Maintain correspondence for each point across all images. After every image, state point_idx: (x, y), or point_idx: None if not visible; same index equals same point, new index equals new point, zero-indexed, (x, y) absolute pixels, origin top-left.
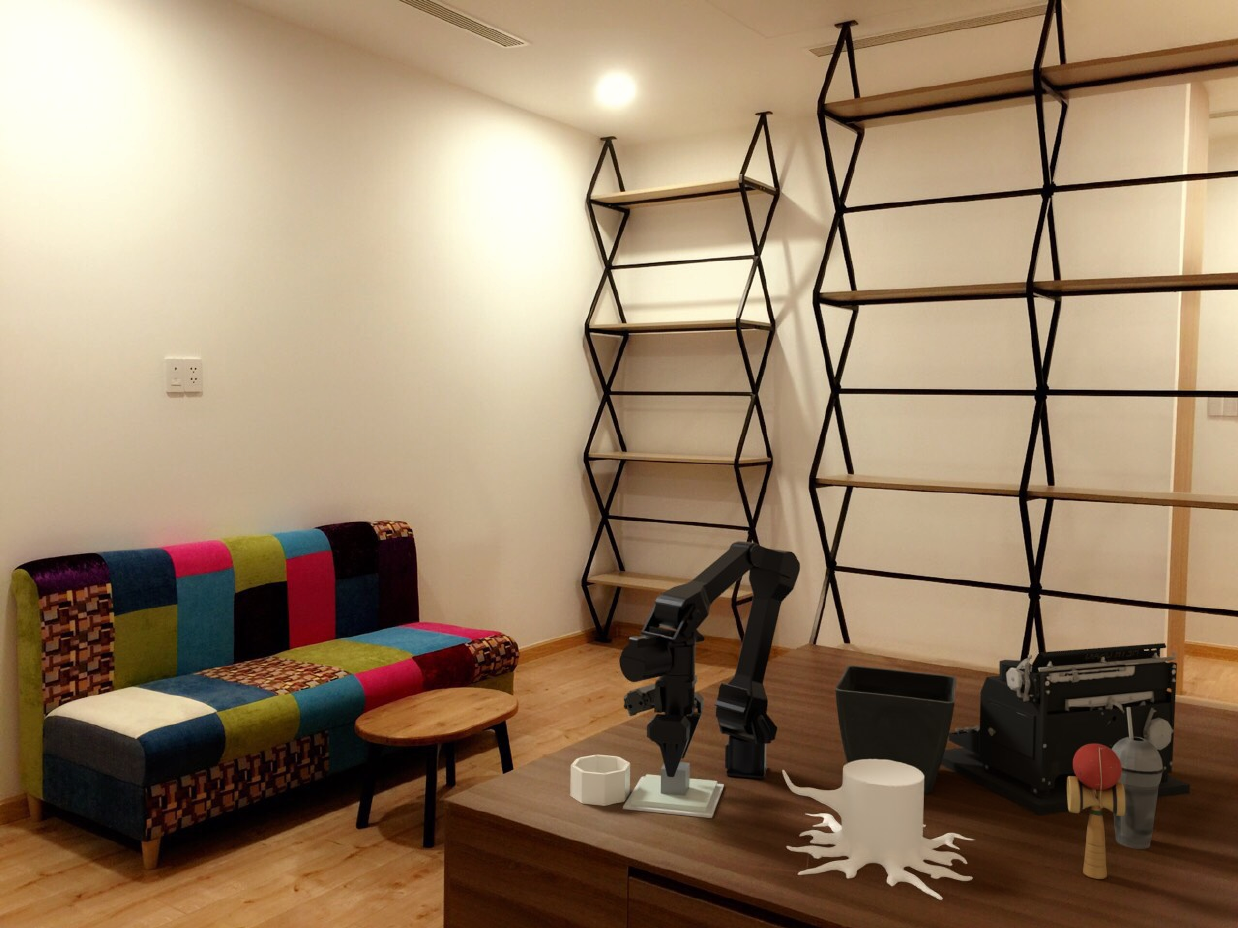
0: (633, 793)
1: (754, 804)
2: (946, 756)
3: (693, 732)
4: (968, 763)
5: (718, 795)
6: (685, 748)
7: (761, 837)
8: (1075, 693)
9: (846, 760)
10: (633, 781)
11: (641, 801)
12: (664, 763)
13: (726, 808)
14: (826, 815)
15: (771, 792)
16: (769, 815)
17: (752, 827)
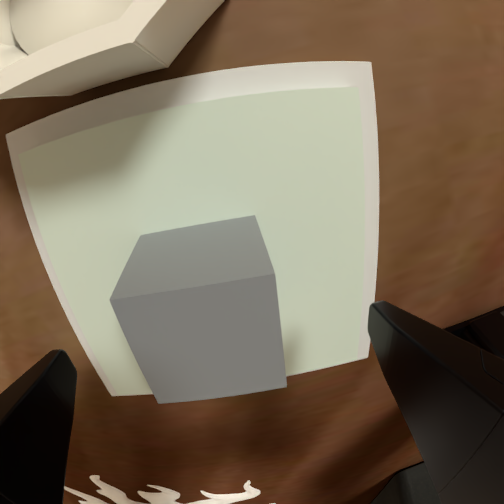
0: (140, 96)
1: (257, 432)
2: None
3: (429, 472)
4: None
5: None
6: (390, 375)
7: (97, 456)
8: None
9: (409, 498)
10: (321, 35)
11: (30, 197)
12: (4, 393)
13: (197, 402)
14: (248, 495)
15: (345, 429)
16: (207, 457)
17: (126, 447)
